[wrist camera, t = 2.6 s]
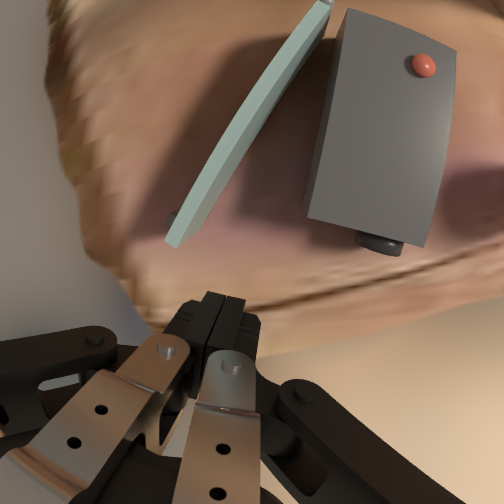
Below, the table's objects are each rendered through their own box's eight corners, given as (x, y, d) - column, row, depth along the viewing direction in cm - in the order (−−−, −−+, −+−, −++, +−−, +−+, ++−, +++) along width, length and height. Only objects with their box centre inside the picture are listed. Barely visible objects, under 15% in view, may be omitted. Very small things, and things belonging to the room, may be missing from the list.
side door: (308, 23, 20) (314, -13, 14) (326, 33, 20) (337, -2, 14) (183, 218, 26) (154, 234, 20) (200, 229, 26) (175, 248, 20)
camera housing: (335, 37, 21) (349, 4, 15) (426, 69, 20) (460, 49, 14) (297, 221, 26) (302, 239, 20) (392, 245, 26) (421, 268, 19)
